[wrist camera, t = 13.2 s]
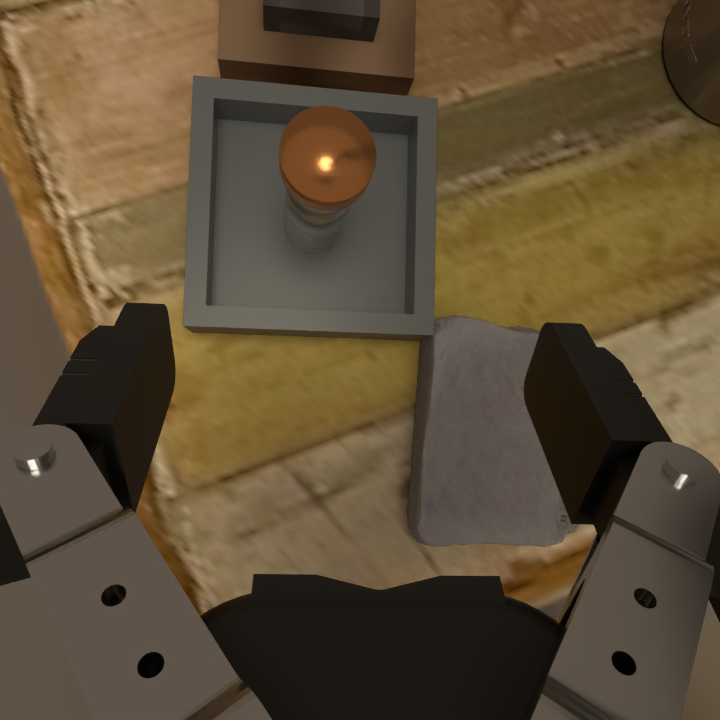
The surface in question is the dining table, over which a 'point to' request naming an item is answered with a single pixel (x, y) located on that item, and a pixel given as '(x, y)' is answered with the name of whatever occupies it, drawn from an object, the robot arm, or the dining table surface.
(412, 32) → the bracket
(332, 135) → the pin
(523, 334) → the stone block
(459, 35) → the dining table surface
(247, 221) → the tray
